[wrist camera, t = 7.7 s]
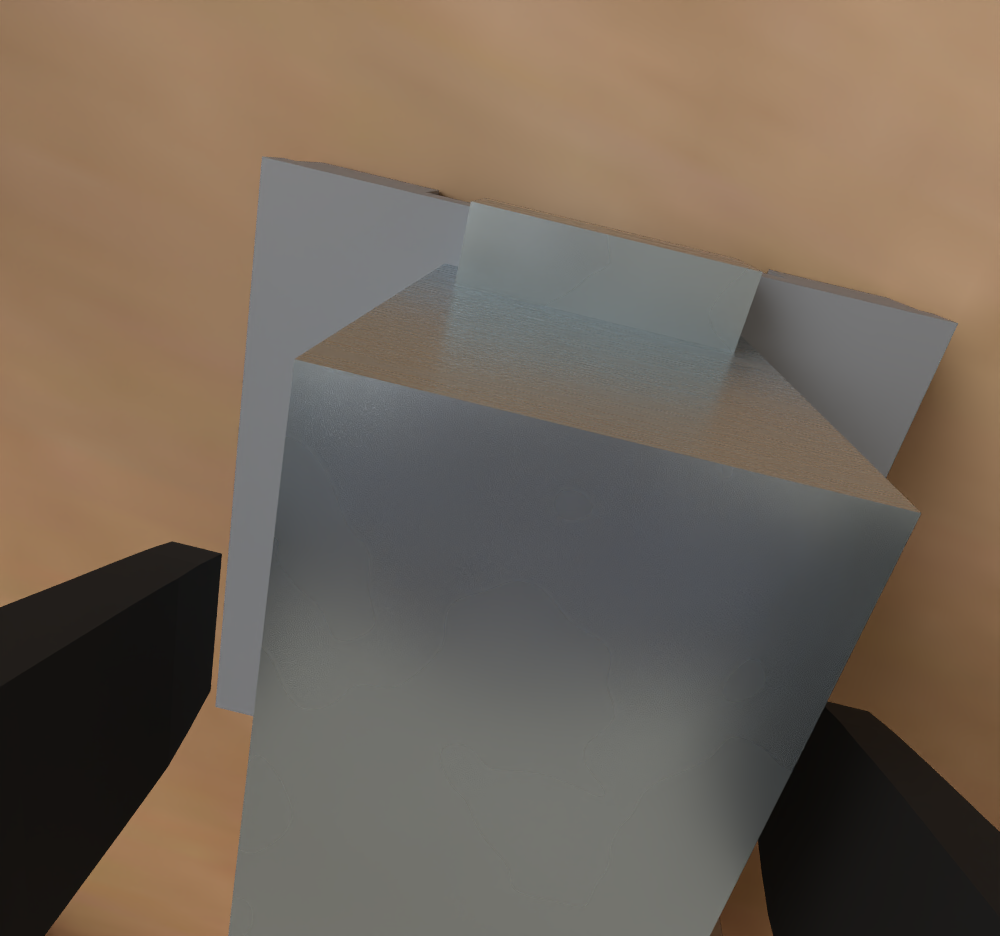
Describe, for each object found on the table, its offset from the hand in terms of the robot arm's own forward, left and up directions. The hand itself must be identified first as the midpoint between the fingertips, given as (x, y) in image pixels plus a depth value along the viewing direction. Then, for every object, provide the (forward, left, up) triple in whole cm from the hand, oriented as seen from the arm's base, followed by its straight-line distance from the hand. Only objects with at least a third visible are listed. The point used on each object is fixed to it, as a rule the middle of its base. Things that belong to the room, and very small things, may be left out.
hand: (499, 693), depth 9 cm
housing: (0, 0, -4) cm, 4 cm away
